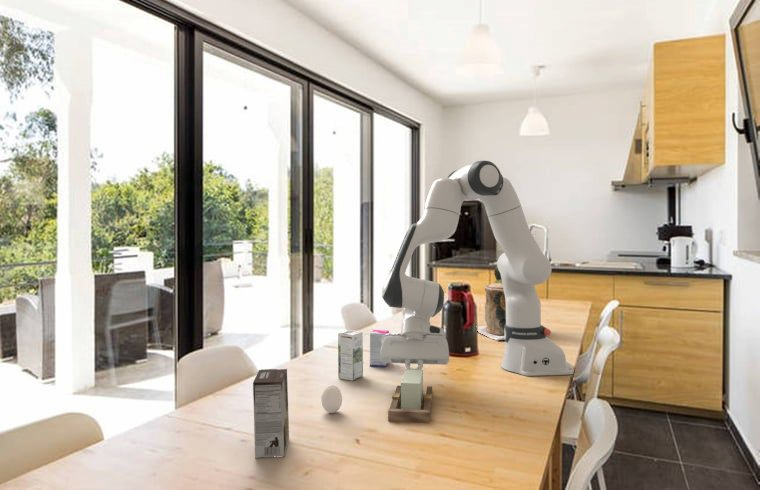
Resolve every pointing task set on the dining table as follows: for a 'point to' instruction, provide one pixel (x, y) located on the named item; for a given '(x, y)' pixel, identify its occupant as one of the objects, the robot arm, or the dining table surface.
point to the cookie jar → (494, 310)
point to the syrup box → (350, 355)
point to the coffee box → (271, 413)
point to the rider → (412, 389)
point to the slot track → (410, 414)
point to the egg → (331, 398)
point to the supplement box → (376, 348)
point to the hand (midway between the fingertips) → (413, 376)
